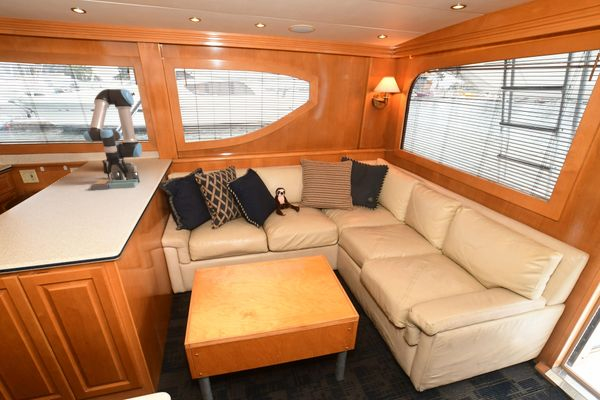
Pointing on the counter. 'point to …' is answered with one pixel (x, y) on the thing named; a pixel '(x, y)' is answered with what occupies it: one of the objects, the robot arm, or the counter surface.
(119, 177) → the cell
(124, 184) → the trough
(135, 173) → the cell
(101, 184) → the orange square tile
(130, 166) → the geiger counter
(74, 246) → the counter surface
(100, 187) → the grey square tray
